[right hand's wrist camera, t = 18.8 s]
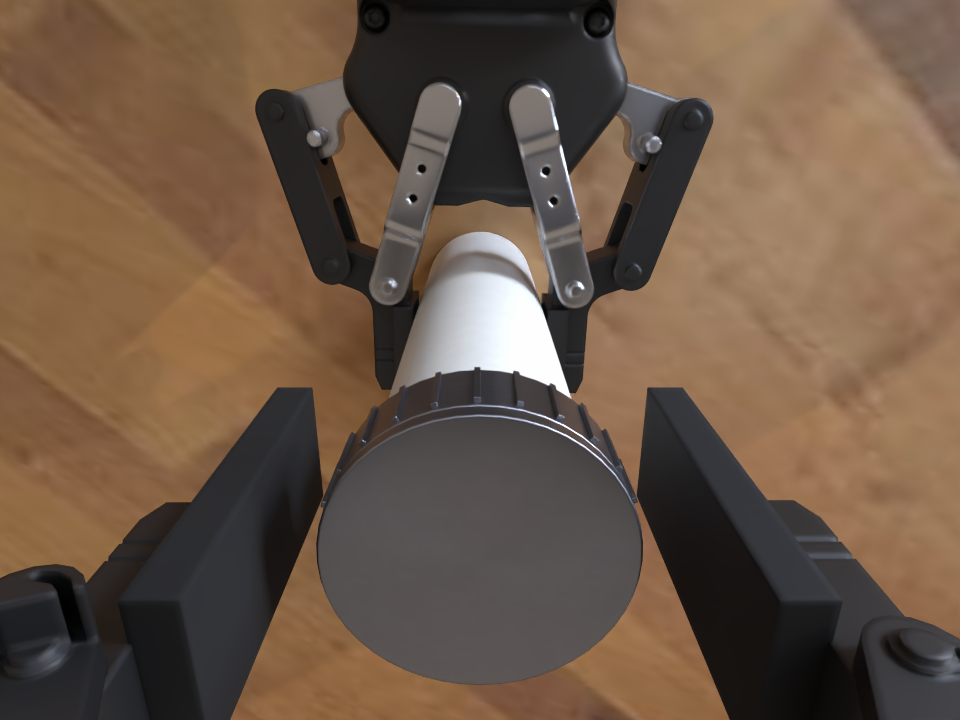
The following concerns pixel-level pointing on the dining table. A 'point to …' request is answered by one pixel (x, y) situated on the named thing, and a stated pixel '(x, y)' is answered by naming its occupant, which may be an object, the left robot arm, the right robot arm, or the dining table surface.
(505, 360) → the jar
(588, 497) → the lid
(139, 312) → the dining table surface
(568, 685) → the dining table surface
